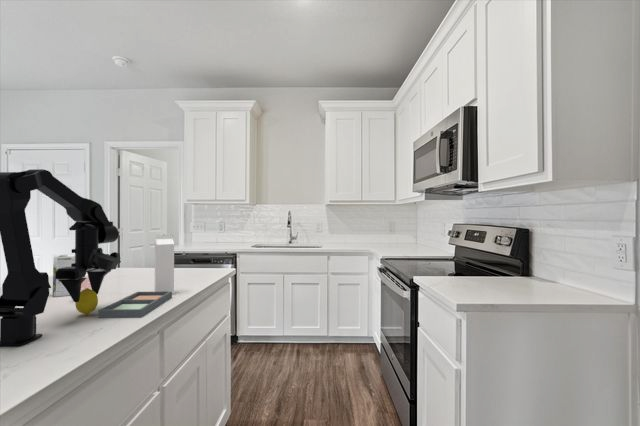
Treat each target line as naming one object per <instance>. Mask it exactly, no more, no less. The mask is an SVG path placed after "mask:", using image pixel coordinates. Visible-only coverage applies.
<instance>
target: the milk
mask: <svg viewBox="0 0 640 426" xmlns="http://www.w3.org/2000/svg"><path fill="white" fill-rule="evenodd" d="M162 291H172V296H173V295H175V242H174V234H173V235H172V234H162V235H161V234H157V235H155V241H154V292H162Z"/></svg>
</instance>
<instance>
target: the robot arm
mask: <svg viewBox="0 0 640 426" xmlns="http://www.w3.org/2000/svg"><path fill="white" fill-rule="evenodd" d="M35 190H37V191H39V192H40V193H42V194H43V195H45V196H47V197H48V198H50V199H51V200H53V202H56V203H57V204H58V205H60V206H61V207H63V208H64V210H65V211H66V212H65V213H66V214H67V215H68V217H69V218H70V219H72V220H73V221H74V224H73V225H71V226H70V227H68V229H69V230H70V231H74V235H75V236H74V237H75V238H74V240H75V241H74V242H75V243H74V244H75V245H74V248H71V254H74V255H75V263H72V264H71V267H63V268H59V269H58V270H57V271H55V279H58V281H61V283H62V284H63V285H64V287H65V288H66V289H67V291H68V293H69V294H70V297H71V299H72V301H73V302H74V303H75V302H79V299H80V291H81V284H82V282H83V281H84V280H85V279H86V278H82V277H85V275H86V273H87V274H88V278H89V281H90V285H91V288H92V289H91V290H93V291H94V292H96V294H97V295H99V293H100V289H101V286H102V283H103V281H104V278H105V276H107V274H108V273H110V272H111V271H112V270H116V269H117V267H118V265H119V264H120V263H121V262H122V261H121V259H122V258H121V256H120V253H119V252H116V251H115V252H111V253H110V254H109V253H107V254H106V253H104V252H103V249H102V247H99V245H101V244H109V243H114V242H116V241H117V240H118V238H119V236H120V232H119V230H118V227H116V226H115V225H114V221H110V220H109V219H108V216H107V214H106V212H105V211H104V209H103V206H102V205H101V204H100V203H99V202H97V201H95V200H93V199H89V198H86V197H82V196H81V195H79V194H78V193H77V192H76V191H73V190H72V189H71V188H70V187H68V186H67V185H66V184H65V183H63V182H62V181H60V180H59V179H58V178H57V177H56V176H54V175H53V174H52V173H51V171H49V170H46V169H43V168H42V169H37V168H36V169H27V170H24V171H14V172H13V171H12V172H11V171H5V172H4V171H3V172H1V171H0V239H1V240H0V241H1V244H2V250H3V253H4V259H5V264H6V268H7V269H6V270H7V274H6V277H5V279H4V280H3V282H2V284H1V286H2V291H1V292H2V294H1V295H0V347H4V346H5V347H8V346H9V347H11V346H13V347H14V346H24V345H26V344H28V343H30V342H32V341H34V340H36V339H39V338H41V337H43V334H42V333H37V316H38V315H41V314H43V313H45V312H44V311H45V308H46V306H47V302H48V300H49V299H48V298H49V296H50V289H52V285H50V279H49V274H48V272H43V271H42V272H40V271H39V270H38V269H37V268H36V265H35V264H36V263H35V258H34V253H33V248H32V243H31V238H30V237H31V236H30V232H29V226H28V221H27V216H26V209H27V206H28V204H29V202H30V200H31V198H32V197H31V196H32V195H31V194H32V192H33V191H35ZM31 191H32V192H31Z"/></svg>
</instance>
